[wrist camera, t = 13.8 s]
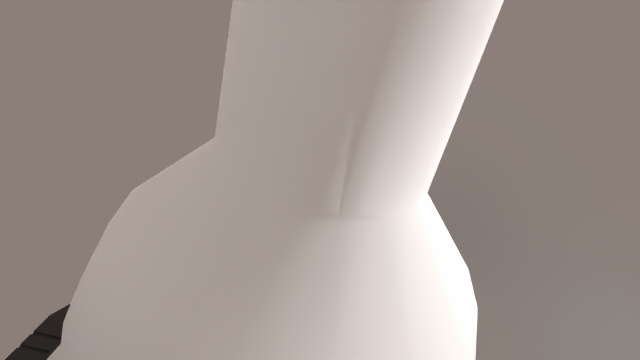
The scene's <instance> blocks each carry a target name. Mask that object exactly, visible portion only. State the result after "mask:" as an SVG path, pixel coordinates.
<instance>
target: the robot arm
mask: <svg viewBox="0 0 640 360" xmlns="http://www.w3.org/2000/svg"><path fill="white" fill-rule="evenodd" d="M69 307H70V304H69V305H68V306H66V307H64V308H62V309H60V310H59V311H57V312H55V313H53V314H51V315H50V316H49V317H48V318H47V319H46V320H45V321H44V322H43V323H42V324H41V325H40V326H39V327H38V328H37V329H36V330H35V331H34V333H33V334H31V335H29V336H28V337H27V338H26V339H25V340H24V341H23V342H22V343H21V345H20V347H19V348H16V349H15V350H14V351H13V352H12V353H11V354H10V355H9V356H8V357H7V358H6V359H5V360H59V356H60V347H61V338H62V329H63V322H64V319H65V317H66V314H67V312H68V309H69Z"/></svg>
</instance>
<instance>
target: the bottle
mask: <svg viewBox="0 0 640 360" xmlns="http://www.w3.org/2000/svg"><path fill="white" fill-rule="evenodd" d="M503 1H504V0H233V4H232V12H231V19H230V27H229V34H228V42H227V49H226V57H225V65H224V72H223V79H222V87H221V95H220V103H219V110H218V117H217V125H216V133H215V137H214V138H213V139H211V140H210V141H208V142H207V143H205V144H204V145H202V146H200V147H199V148H197V149H196V150H194V151H193V152H191V153H190V154H188V155H186V156H185V157H183V158H182V159H180V160H179V161H177V162H175V163H174V164H172V165H171V166H169V167H168V168H166V169H165V170H163V171H161V172H160V173H158V174H157V175H155V176H154V177H152V178H150V179H149V180H147V181H146V182H144V183H143V184H141V185H140V186H138V187H136V188H135V189H133V190H132V191H131V193H130V194H129V196H128V197H127V198H126V200H125V201H124V203H123V204H122V205H121V207H120V208H119V210H118V211H117V213H116V214H115V215H114V217H113V218H112V219H111V221H110V222H109V224H108V226H107V228H106V230H105V232H104V234H103V236H102V238H101V240H100V242H99V244H98V246H97V248H96V250H95V252H94V253H93V256H92V257H91V259H90V261H89V263H88V266H87V267H86V270H85V271H84V273H83V275H82V277H81V280H80V282H79V285H78V287H77V290H76V292H75V295H74V297H73V300H72V302H71V304H70V307H69V309H68V312H67V314H66V317H65V319H64V322H63V329H62V338H61V347H60V356H59V360H475V355H476V332H477V331H476V330H477V304H476V300H475V296H474V292H473V287H472V283H471V279H470V274H469V270H468V268H467V266H466V264H465V262H464V261H463V259H462V257H461V255H460V253H459V251H458V249H457V247H456V245H455V244H454V242H453V240H452V238H451V236H450V234H449V232H448V231H447V229H446V227H445V225H444V223H443V222H442V219H441V218H440V216H439V214H438V212H437V210H436V208H435V206H434V205H433V203H432V201H431V199H430V197H429V195H428V193H427V192H428V189H429V186H430V184H431V182H432V179H433V177H434V174H435V172H436V169H437V167H438V164H439V162H440V159H441V156H442V154H443V152H444V149H445V147H446V144H447V141H448V139H449V137H450V134H451V132H452V129H453V127H454V124H455V121H456V119H457V116H458V114H459V111H460V109H461V106H462V104H463V101H464V98H465V96H466V94H467V91H468V89H469V86H470V84H471V81H472V79H473V76H474V74H475V71H476V69H477V66H478V64H479V61H480V58H481V56H482V54H483V51H484V49H485V46H486V44H487V41H488V39H489V36H490V34H491V31H492V29H493V26H494V24H495V21H496V18H497V16H498V13H499V11H500V8H501V6H502V3H503Z"/></svg>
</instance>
